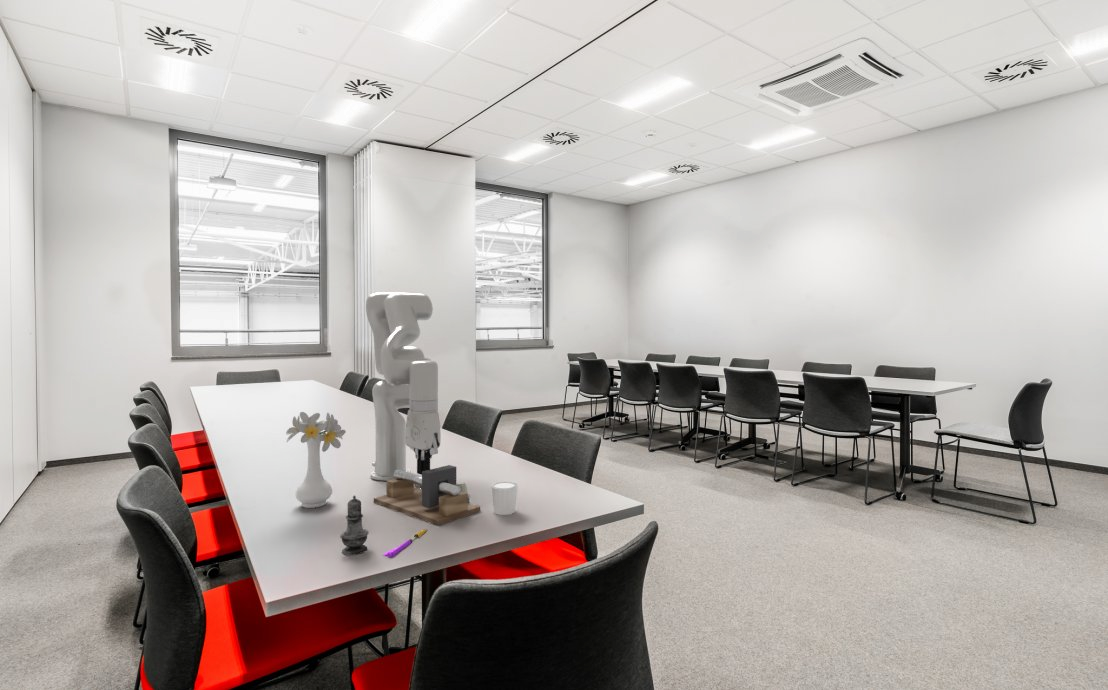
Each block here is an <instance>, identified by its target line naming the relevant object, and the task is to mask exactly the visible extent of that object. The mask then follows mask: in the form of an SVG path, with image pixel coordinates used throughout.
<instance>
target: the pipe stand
mask: <svg viewBox="0 0 1108 690" xmlns="http://www.w3.org/2000/svg"><path fill="white" fill-rule="evenodd" d="M373 503H375V504H377V505H379V506H382V507H385V508H388V509H391V510H393V509H394V511H397V512H398V513H402V514H404V513H405V515H408V516H410V517H413V518H415V517H416V519H418V518H419V520H421V521H424V522H427V523H429V522H430V524H433V525H435V524H436V525H435V526H441V525H443V524H446V522H447V523H450V522H452V521H453V522H454V521H455V520H459V519H461V518H464V516H465V517H466V516H470V515H472V514H476V513H479V512H481V506H479V505H476V504H473V503H471V502H470V503H468V493H466V492H463V491H461V493H460V495H458V496H454V495H450V494H447V495H444V496H440V497H439V506H436V507H432V508H426V507H423V506H422V489H420V488H417V487H416V486H415V484H413V483H410V482H407V481H403V480H400V479H397V478H396V479H392V480H388V481H386V494H384V495H380V496H377V497H373ZM458 518H459V519H458Z"/></svg>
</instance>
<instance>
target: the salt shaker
mask: <svg viewBox="0 0 1108 690" xmlns="http://www.w3.org/2000/svg"><path fill="white" fill-rule="evenodd" d="M363 518H364V514H363V513H362V501H361V500H360V499H358V498H357V496H356V495H353V496H352V499H350V500H349V501H347V515H346V516H345V519H346V521H347V523H346V524H347V525H346V531H343V532H342V533H340V535H339V537H340V539H341V542H342V544H343V545H344V546H345V547H344V548H343V549H342V550H341V553H342V554H343V555H346V556H355V555H359V554H363V553H365V552H366V551H368V546H367V545H365V543H366V541H367V539H368V535H369V534H370V531H369V530H368V529H366V528H365V529H364V527H363Z"/></svg>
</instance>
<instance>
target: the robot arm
mask: <svg viewBox="0 0 1108 690" xmlns="http://www.w3.org/2000/svg"><path fill="white" fill-rule="evenodd" d="M433 309H434V308H433V304H432V300H431V298H430V297H429V296H428V295H427V294H425V293H411V292H388V291H387V292H385V291H383V292H374V293H371V294H370V295H368V297H367V298H366V301H365V312H366V318H367V320H368V323H369V326H370V329H371V330H372V335H373V336H372V337H373V346H374V347H373V350H374V362H375V369H376V372H377V373H378V374H379V375H381V376H383V378H384V379H383V380H379V381H377V382H376V383H375V384H374V385H373V386H372V393H371V395H372V402H373V407H374V419H375V424H374V425H375V426H374V427H375V460H374V461H372V463H371V466H372V467H374V470H373V471H372V472H371V473H370V478H371V479H372V480H375V481H386V482H387V481H388V480H392V479H396V478H395V477H394V472H395V471H396V470H402V471H406V472H409V473H412V471H411V470H410V469H409V468H407V455H406V454H407V447H408V448H409V449H410V450H411V451H412V452H414V454H415V459H416V475H420V476H422V471H426V470H430V469H431V459H432V458H433V456H434V455H437V454H439V448H440V446H441V440H442V439H441V438H442V437H441V433H442V432H441V422H440V421H441V420H440V415H439V414H440V413H439V394H438V393H439V367H438V366H439V365H438V363H437V361H434V360H432V359H430V358H428V357H425V353H424V352H423V350H422V349H421V348H419V347H417V346H408V345H410V344H413V343H414V342H416V341H417V340H418V338H419V337H420V335H421V328H420V325H419V323H418V321H427V320H429V319H431V317H432V316H433V315H432V314H433ZM407 408H409V409H408V410H407V416H406V420H405V418H404V416H403V415H402V414H401V413H400V412H399V409H407Z"/></svg>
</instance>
